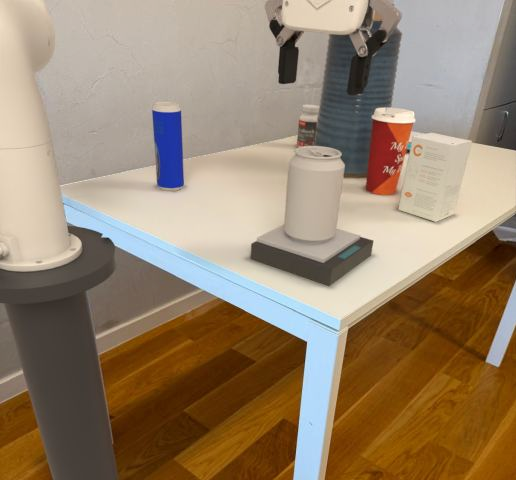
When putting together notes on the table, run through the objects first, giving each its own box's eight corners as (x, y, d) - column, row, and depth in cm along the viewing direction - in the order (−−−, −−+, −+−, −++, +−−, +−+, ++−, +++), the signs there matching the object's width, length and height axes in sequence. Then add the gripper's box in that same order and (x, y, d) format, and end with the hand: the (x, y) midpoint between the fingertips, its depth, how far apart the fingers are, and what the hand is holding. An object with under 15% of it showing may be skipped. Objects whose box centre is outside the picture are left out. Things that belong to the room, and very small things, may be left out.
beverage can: (160, 182, 101) (155, 100, 92) (185, 184, 101) (183, 102, 92) (154, 190, 96) (148, 105, 88) (181, 192, 96) (178, 106, 88)
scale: (329, 286, 67) (332, 265, 65) (250, 259, 73) (251, 239, 71) (371, 255, 76) (374, 236, 74) (297, 233, 82) (299, 215, 80)
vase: (315, 177, 109) (334, 0, 91) (307, 157, 122) (322, 0, 104) (390, 179, 109) (423, 5, 92) (373, 160, 123) (399, 4, 105)
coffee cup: (393, 199, 98) (409, 116, 90) (354, 191, 102) (366, 110, 93) (406, 189, 104) (422, 110, 96) (369, 181, 108) (381, 105, 99)
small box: (453, 215, 92) (473, 140, 85) (435, 222, 88) (454, 145, 81) (415, 203, 97) (431, 131, 90) (396, 210, 93) (411, 135, 86)
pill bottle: (293, 148, 130) (296, 106, 124) (300, 143, 134) (304, 103, 129) (314, 151, 128) (319, 108, 123) (321, 146, 132) (325, 105, 127)
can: (304, 250, 68) (313, 159, 62) (273, 231, 74) (278, 146, 67) (345, 240, 72) (358, 153, 65) (313, 223, 77) (322, 141, 70)
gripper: (253, -98, 54) (245, 81, 63) (406, -103, 46) (370, 102, 56) (291, -86, 59) (278, 77, 69) (433, -89, 51) (397, 96, 61)
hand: (319, 88), depth 62 cm, fingers open, 9 cm apart
